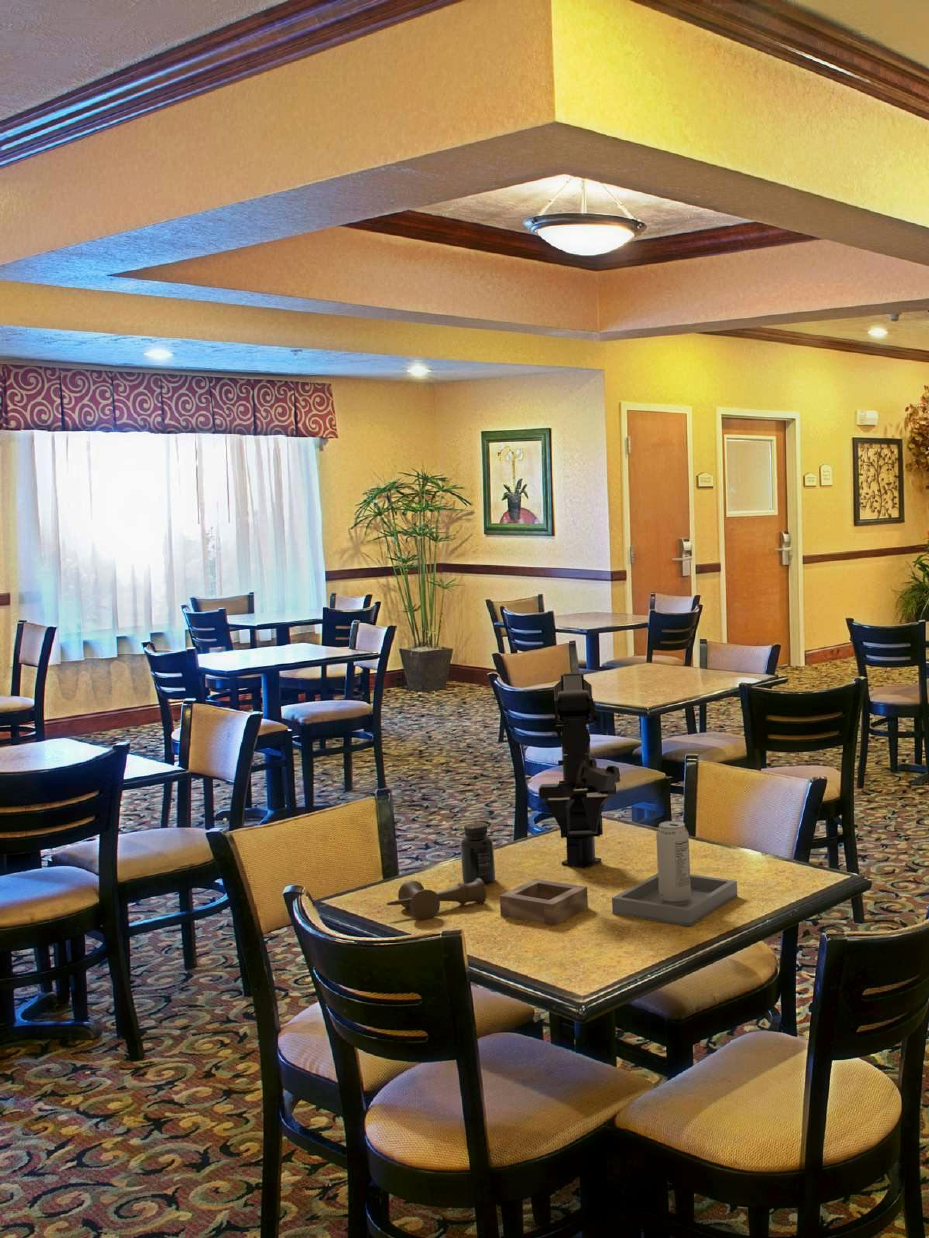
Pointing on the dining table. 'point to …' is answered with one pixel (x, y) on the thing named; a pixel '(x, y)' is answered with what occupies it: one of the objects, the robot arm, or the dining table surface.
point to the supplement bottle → (477, 854)
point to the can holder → (544, 901)
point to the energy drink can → (673, 863)
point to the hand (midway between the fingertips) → (580, 833)
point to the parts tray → (702, 902)
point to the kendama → (437, 897)
